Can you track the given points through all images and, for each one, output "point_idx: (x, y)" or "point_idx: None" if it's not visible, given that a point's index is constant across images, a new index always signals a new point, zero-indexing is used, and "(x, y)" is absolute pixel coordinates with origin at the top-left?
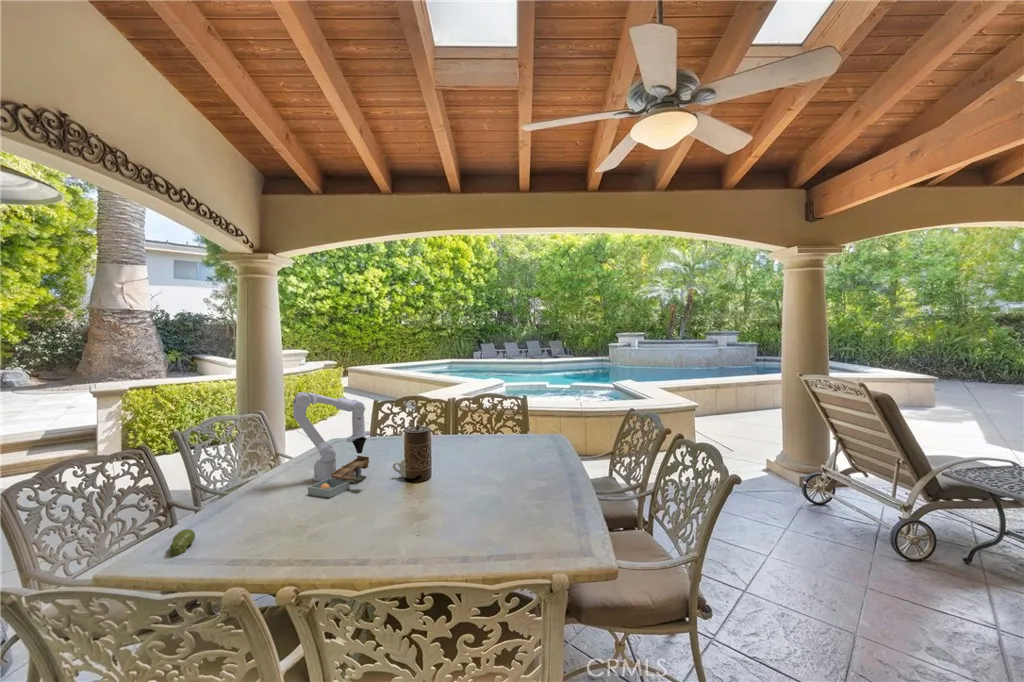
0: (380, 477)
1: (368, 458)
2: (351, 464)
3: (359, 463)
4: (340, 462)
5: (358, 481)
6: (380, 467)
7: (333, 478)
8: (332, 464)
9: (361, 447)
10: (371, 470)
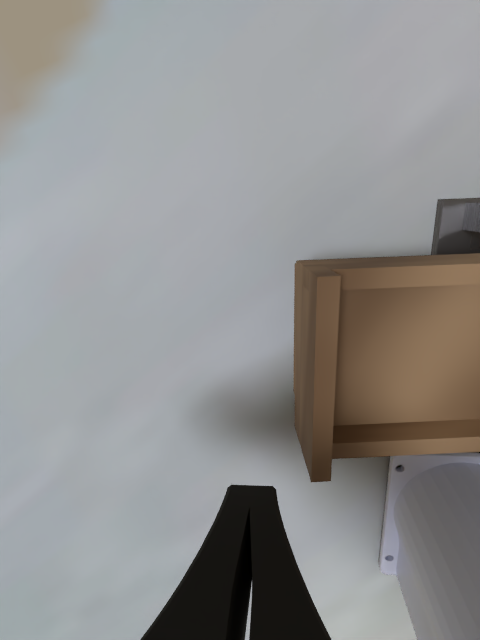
0: (280, 107)
1: (318, 271)
2: (457, 417)
3: (413, 338)
4: (118, 623)
5: None
6: (58, 312)
7: (470, 465)
8: None
9: (257, 572)
10: (153, 332)
